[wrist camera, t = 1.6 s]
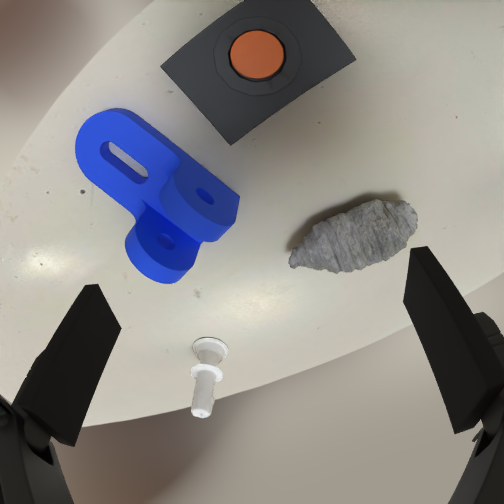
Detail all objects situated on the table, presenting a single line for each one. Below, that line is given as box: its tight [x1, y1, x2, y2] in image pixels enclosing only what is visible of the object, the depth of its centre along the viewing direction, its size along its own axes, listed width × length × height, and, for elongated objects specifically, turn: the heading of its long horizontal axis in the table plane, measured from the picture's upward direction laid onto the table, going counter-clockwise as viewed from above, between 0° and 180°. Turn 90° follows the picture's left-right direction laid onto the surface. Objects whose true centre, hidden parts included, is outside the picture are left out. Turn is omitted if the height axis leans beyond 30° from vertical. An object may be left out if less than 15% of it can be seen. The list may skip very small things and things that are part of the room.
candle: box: [190, 338, 229, 418], centre depth 41 cm, size 5×5×12 cm
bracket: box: [75, 108, 240, 284], centre depth 28 cm, size 18×8×9 cm, turn 48°
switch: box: [230, 31, 284, 79], centre depth 21 cm, size 4×4×2 cm
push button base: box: [160, 0, 356, 145], centre depth 24 cm, size 14×10×4 cm
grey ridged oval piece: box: [288, 199, 418, 274], centre depth 32 cm, size 6×14×8 cm, turn 117°
